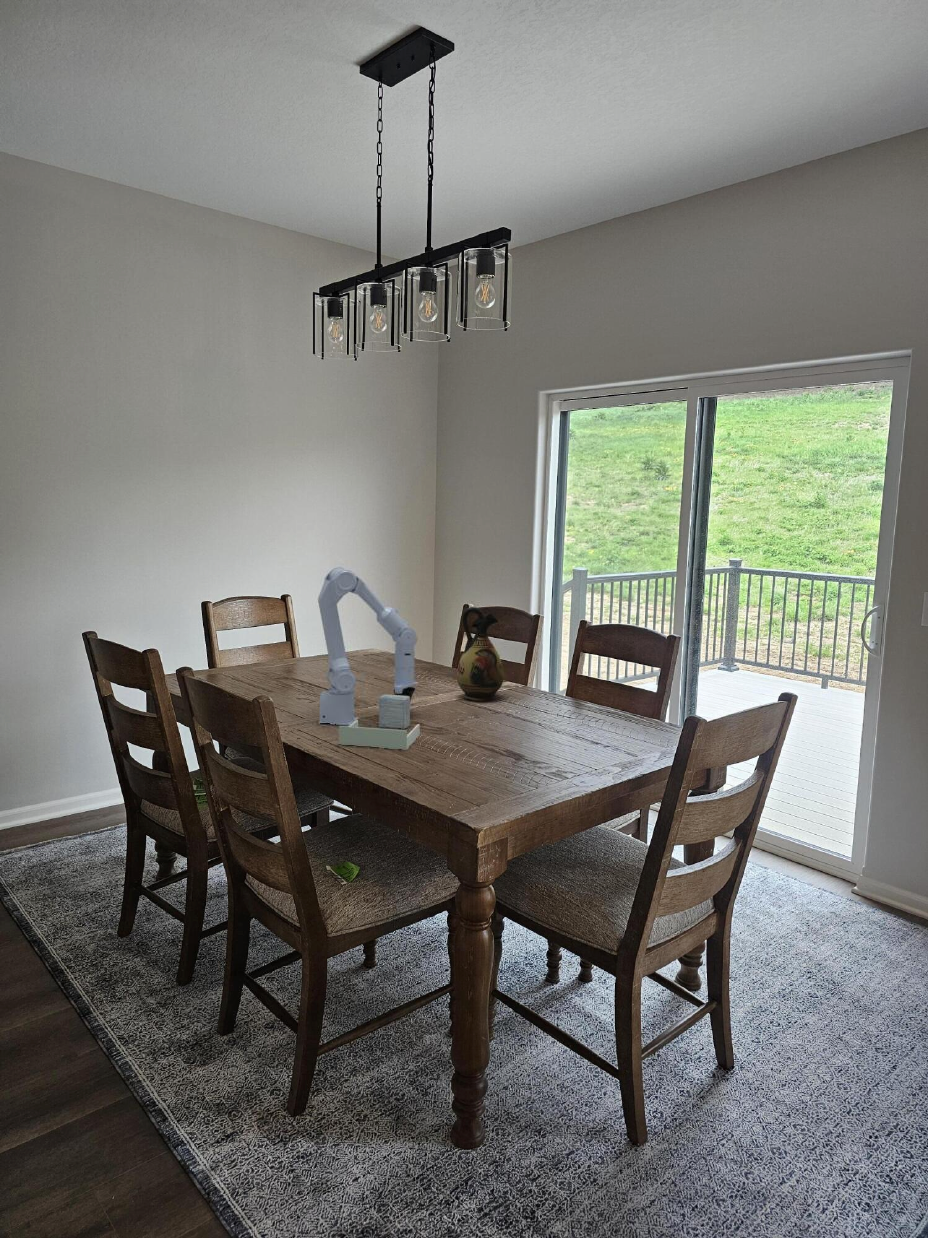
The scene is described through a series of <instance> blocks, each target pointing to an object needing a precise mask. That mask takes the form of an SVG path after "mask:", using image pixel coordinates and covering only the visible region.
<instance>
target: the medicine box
mask: <svg viewBox="0 0 928 1238" xmlns="http://www.w3.org/2000/svg"><path fill="white" fill-rule="evenodd" d="M410 712H411V701H410V697H409V696H400V695H395V694H383V695H381V696H380V697H378V727H379V728H387V727H388V728H387V729H398V728H401V729H400V730H406V729H407V728H408V727H410V726H411V714H410ZM405 728H406V729H405Z"/></svg>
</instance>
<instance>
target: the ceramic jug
mask: <svg viewBox="0 0 928 1238" xmlns="http://www.w3.org/2000/svg"><path fill="white" fill-rule="evenodd" d="M473 614H476V615H477V616H478V617H477V618H476V619H474V621H473V622H472V623H471V626H472V628H476V633H475V634H474V635H473V636H472V632H471V630H470V627H469V626H470V625H469V623H468V616H469V615H473ZM461 619H462V626H463V629H464V633H465V636H466V639H467V640H466V643H465V646H464V649H463V650H464V651H463V653H462V655H461V657H460V660H459V662H458V666H457V670H456V681H457V684H458V686H459V687H460V689H461V691H462V692H463V693H464V698H465V699H468V700H470V701H476V702H484V703H485V702H490V701H494V700H495V696H496V694H497V692H498V691H499V690H500V689H501V688H502V686H503V683H504V679H505V672H504V670H505V669H504V666H503V663H502V659H501V657H500V654H499V653H498V650H497V649H496V648H495V646H494V645H493V643H492V641H491V640H490V637H489V635H488V629H489V628H490V627H492V626H495V625H497V624H500V623H501V621H500V619H498V618H497V617H496V615H495V614H494V613H493V612H488V613H486V615H484V613H483V611H482V609H480V608H478V607H477V606H476V607H475V606H470V607H468V608H466V609H464V610H463V614H462V617H461Z"/></svg>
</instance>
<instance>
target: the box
mask: <svg viewBox="0 0 928 1238" xmlns="http://www.w3.org/2000/svg"><path fill="white" fill-rule="evenodd" d="M420 725H421V724H420V723H418V724H416V725H415V726H414V727H413V728H412V729H411V730H410V732H409V733H408V730H406V729H394V728H380V727H379V728H377V727H364V726H363V727H361V726H360V727H359V719H358V720H356V721H354V722H353V723H352V724H351V725H338V745H339V744H343V745H357V746H371V747H379V748H378V749H384V748H388V749H387V750H398V749H402V750H401V751H407V750H408V749H409V748H410V747H411V745H413V743H414V742H415V741H416V740H417V739H418V737H419V736H420V735H421V734H420V733H421V731H420V730H421V729H420V728H421V726H420ZM416 738H417V739H416ZM409 746H410V747H409Z"/></svg>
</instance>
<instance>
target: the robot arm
mask: <svg viewBox="0 0 928 1238" xmlns="http://www.w3.org/2000/svg"><path fill="white" fill-rule="evenodd" d="M348 593H352V594H355V595H357V596H358V597H359V598H360V599H361V600H362V601H363V602H364V603H366V605H368V607H369V608H370V609H371V610H372V611H374V613H376V621H377V622H378V624H379V625H381V627H383V629H384V630H385V631H386V632H387V634H388V635H390V637H391V638H392V641H393V642H394V644H395V647H394V648H395V649H394V682H393V685H394V688H393V693H394V694H393V695H400V696H409V697H410V702H411V700H412V697H413V696H414V693H415V691H416V687H413V686H418V685H419V682H418V681H415V653H416V652H415V645H416V644H417V642H418V640H419V638H418V636H417V633H416V631H415V630H414V629H413V628H411V627H409V626H408V625H409V622H408V621H406V620H405V621H404V619H403V618H402V617H401V616H400V615H399V614H398V613H399V611H398V610H397V608H393V607H392V606H385V605H384V603H383V602H382V601H381V600H380V599H379V598H378V597H377V595H376V594H375V593H374V592H373V590H371V588H370V587H369V586H368V585H367V584H366V583H365V582H364V581H363V580H362V578H360V577H359V576H357V575H356V574H355V572H353V571H352V570H350V569H347V568H346V569H345V568H344V567H340V566H339V567H334V568H332V569H331V570H330V571H329V572H328V573H327V575H326V576H325V577H324V581H323V584H322V587H321V589H320V592H319V595H318V598H317V602H318V608H319V612H320V618H321V623H322V628H323V635H324V640H325V645H326V650H327V654H328V655H327V657H328V662H327V663H328V664H327V665H328V666H327V667H328V672H327V682H328V683H329V688H328V690H323V691H321V693H320V696H319V721H318V724H320V723H330V724H329V725H335V724H336V725H337V726H349V725H351V724H352V723H353V722H354V721H356V720H358V721H359V717H358V716H355V686H356V683H357V678H356V676H355V675H354V673H353V672H352V670H351V666H350V664H349V661H348V659H347V652H346V649H345V648H346V647H345V642H344V636H343V631H342V627H341V620H340V615H339V610H338V603H339V602H340V601H341V600H342V598H343V597H344V596H345V595H347V594H348Z"/></svg>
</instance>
